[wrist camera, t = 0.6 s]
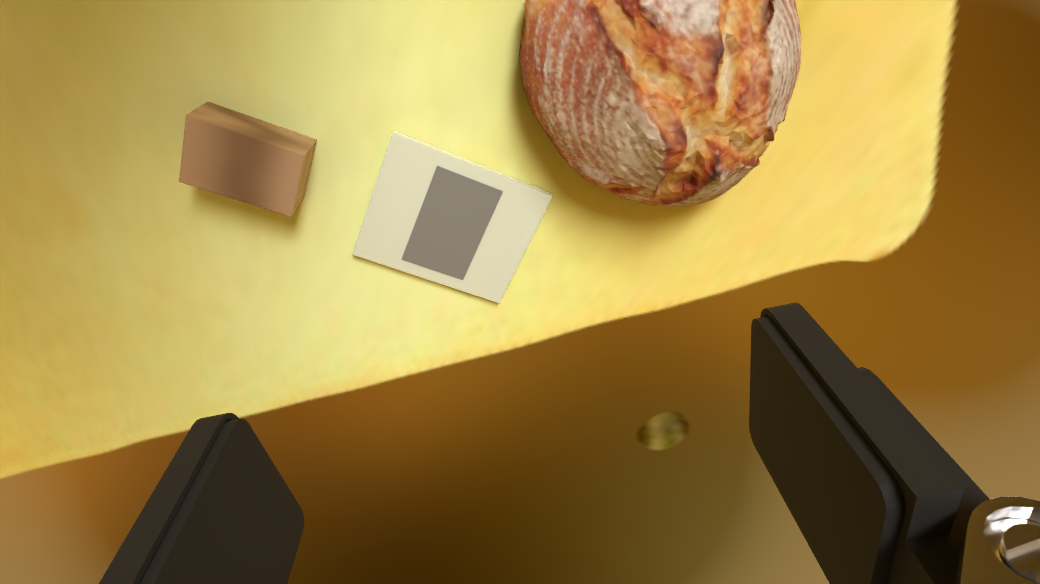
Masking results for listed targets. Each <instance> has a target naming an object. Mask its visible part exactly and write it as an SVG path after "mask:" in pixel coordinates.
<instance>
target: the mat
mask: <svg viewBox="0 0 1040 584" xmlns="http://www.w3.org/2000/svg"><path fill="white" fill-rule="evenodd" d="M552 197H553V196H552V193H550V192H547V191H545V190H542V189H540V188H537V187H535V186H532V185H530V184H527V183H525V182H522V181H520V180H517V179H515V178H512V177H510V176H507V175H505V174H502V173H500V172H497V171H494V170H492V169H489V168H487V167H484V166H482V165H479V164H477V163H474V162H472V161H469V160H467V159H464V158H462V157H459V156H457V155H454V154H452V153H449V152H447V151H444V150H442V149H439V148H437V147H434V146H432V145H429V144H427V143H424V142H422V141H419V140H417V139H414V138H412V137H409V136H407V135H404V134H402V133H399V132H397V131H393V133H392V136H391V139H390V142H389V145H388V148H387V151H386V154H385V157H384V161H383V164H382V167H381V170H380V173H379V176H378V179H377V182H376V185H375V188H374V191H373V194H372V197H371V200H370V203H369V206H368V209H367V212H366V215H365V218H364V221H363V224H362V227H361V230H360V233H359V236H358V239H357V242H356V245H355V248H354V251H353V254H352V255H355V256H358V257H361V258H364V259H367V260H370V261H373V262H376V263H379V264H382V265H385V266H388V267H391V268H394V269H397V270H400V271H403V272H406V273H409V274H412V275H415V276H418V277H421V278H424V279H427V280H430V281H434V282H437V283H440V284H443V285H446V286H449V287H452V288H455V289H458V290H461V291H464V292H467V293H470V294H473V295H476V296H479V297H482V298H485V299H488V300H491V301H494V302H497V303H500V301H501V299H502V297H503V295H504V293H505V291H506V289H507V287H508V285H509V283H510V281H511V279H512V277H513V275H514V273H515V271H516V269H517V267H518V265H519V263H520V261H521V259H522V257H523V255H524V253H525V251H526V249H527V247H528V245H529V243H530V241H531V239H532V237H533V235H534V233H535V231H536V229H537V227H538V225H539V223H540V221H541V219H542V217H543V215H544V213H545V211H546V209H547V207H548V205H549V203H550V201H551V199H552Z"/></svg>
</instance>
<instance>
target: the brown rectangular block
mask: <svg viewBox="0 0 1040 584" xmlns="http://www.w3.org/2000/svg"><path fill="white" fill-rule="evenodd" d="M316 141H317V140H316V139H313V138H310V137H308V136H305V135H302V134H299V133H296V132H293V131H290V130H287V129H285V128H282V127H279V126H276V125H273V124H270V123H267V122H264V121H262V120H259V119H256V118H253V117H250V116H247V115H244V114H241V113H239V112H236V111H233V110H230V109H227V108H224V107H221V106H218V105H216V104H213V103H210V102H206V103H205V104H203V105H202V106H200V107H199V108H197V109H195V110H194V111H192V112H191V113H189V114H188V115H186V122H185V131H184V140H183V150H182V159H181V168H180V178H179V182H181V183H184V184H188V185H191V186H194V187H197V188H201V189H204V190H207V191H210V192H213V193H217V194H220V195H223V196H226V197H229V198H233V199H236V200H239V201H242V202H246V203H249V204H252V205H255V206H258V207H262V208H265V209H268V210H271V211H274V212H278V213H281V214H284V215H287V216H291V217H292V215H293V214H294V212H295V210H296V209H297V207H298V206H299V204H300V203H301V201H302V199H303V198H304V194H305V190H306V185H307V181H308V176H309V172H310V168H311V163H312V159H313V154H314V150H315V145H316Z"/></svg>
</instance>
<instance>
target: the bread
mask: <svg viewBox="0 0 1040 584" xmlns="http://www.w3.org/2000/svg"><path fill="white" fill-rule="evenodd" d="M524 6H525V13H526V19H525V26H524V29H523V31H522V42H521V46H520V66H521V74H522V81H523V87H524V91H525V93H526V96H527V99H528V102H529V105H530V107H531V108H532V111H533V114H534V115H535V116H536V118H537V120H538V122H539V124H540V125H541V126H542V128H543V129H544V131H545V132H546V134H547V135H548V136H549V138H550V139H551V141H552V142H553V144H554V145H555V147H556V148H557V150H558V151H559V153H560V154H561V156H562V157H563V158H564V159H565V160H566V161H567V162H568V164H569V165H570V167H571V168H573V169H574V170H576V171H577V172H578V173H579V174H580V175H581V176H582V177H583V178H585V179H586V180H587V181H589V182H592V183H593V184H595V185H597V186H599V187H601V188H603V189H605V190H607V191H609V192H611V193H614V194H616V195H618V196H620V197H622V198H625V199H629V200H633V201H637V202H641V203H645V204H649V205H654V206H689V205H696V204H700V203H703V202H706V201H709V200H712V199H715V198H717V197H718V196H720V195H722V194H724V193H725V192H726V191H728V190H729V189H731V188H732V187H733V186H735V185H736V184H738V183H739V182H740V181H741V180H742V179H743V178H744V177H745V176H746V175H747V174H748V173H749V172H750V171H751V170H752V169H753V168H755V167H756V166H758V165H759V164H760V162H759V157H760V156H762V155H763V153H764V151H765V150H766V149H767V147H768V146H769V143H770V141H773V140H774V134H775V133H776V131H777V126H778V124H780V123H781V122H782V121H784V120H785V116H786V110H787V107H788V104H789V101H790V99H791V96H792V93H793V90H794V87H795V84H796V81H797V78H798V74H799V69H800V63H801V31H800V24H799V18H798V14H797V9H796V3H795V0H526V1H525V4H524Z"/></svg>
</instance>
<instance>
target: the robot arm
mask: <svg viewBox="0 0 1040 584" xmlns="http://www.w3.org/2000/svg"><path fill="white" fill-rule="evenodd" d="M750 374H751V375H750V413H749V429H750V434H751V438H752V441H753V443H754V446H755V448H756V450H757V451H758V453H759V455H760V457H761V459H762V461H763V462H764V464H765V466H766V468H767V470H768V472H769V474H770V475H771V477H772V479H773V481H774V483H775V484H776V486H777V488H778V490H779V492H780V494H781V495H782V497H783V499H784V501H785V502H786V505H787V506H788V508H789V510H790V512H791V514H792V515H793V517H794V519H795V521H796V522H797V525H798V526H799V528H800V530H801V532H802V534H803V535H804V537H805V539H806V541H807V543H808V545H809V547H810V548H811V550H812V552H813V554H814V556H815V557H816V559H817V561H818V563H819V565H820V567H821V568H822V570H823V572H824V574H825V576H826V578H827V579H828V581H829V583H830V584H1040V501H1038V500H1034V499H1029V498H1024V497H998V498H994V499H989V498H988V497H987V496H986V495H985V494H984V493H983V492H982V490H981V489H980V488H979V487H978V486H977V485H976V484H975V483H974V482H973V481H972V480H971V478H970V477H969V476H968V475H967V474H966V473H965V472H964V471H963V470H962V469H961V467H960V466H959V465H958V464H957V463H956V462H955V461H954V460H953V459H952V458H951V457H950V455H949V454H948V453H947V452H946V451H945V450H944V449H943V448H942V447H941V446H940V445H939V443H938V442H937V441H936V440H935V439H934V438H933V437H932V436H931V435H930V434H929V433H928V432H927V430H926V429H925V428H924V427H923V426H922V425H921V424H920V423H919V422H918V421H917V419H916V418H915V417H914V416H913V415H912V414H911V413H910V412H909V411H908V410H907V409H906V407H905V406H904V405H903V404H902V403H901V402H900V401H899V400H898V399H897V398H896V397H895V396H894V394H893V393H892V392H891V391H890V390H889V389H888V388H887V387H886V386H885V385H884V383H883V382H882V381H881V380H880V379H879V378H878V377H877V376H876V375H875V374H874V373H872V372H871V371H870V370H868V369H866V368H863V367H862V368H857V367H856V366H855V365H854V364H853V363H852V362H851V361H850V360H849V358H848V357H847V356H846V355H845V354H844V353H843V352H842V351H841V350H840V348H839V347H838V346H837V345H836V344H835V343H834V342H833V341H832V339H831V338H830V337H829V336H828V335H827V334H826V333H825V331H824V330H823V329H822V328H821V327H820V326H819V325H818V324H817V322H816V321H815V320H814V319H813V318H812V317H811V316H810V315H809V314H808V312H807V311H806V310H805V309H804V308H803V307H802V306H801V305H800V304H799V303H791V304H786V305H781V306H775V307H770V308H766V309H763V310H762V312H761V317H760V318H757V319H754V320H753V321H752V327H751V370H750ZM303 528H304V515H303V511H302V509H301V507H300V506H299V504H298V503H297V501H296V499H295V498H294V496H293V494H292V493H291V491H290V490H289V488H288V486H287V485H286V483H285V481H284V480H283V478H282V477H281V475H280V473H279V472H278V470H277V469H276V467H275V465H274V464H273V462H272V461H271V459H270V457H269V456H268V454H267V452H266V451H265V449H264V447H263V446H262V444H261V443H260V441H259V439H258V438H257V436H256V435H255V433H254V431H253V430H252V428H251V426H250V425H249V423H248V422H247V421H246V420H244V419H239V418H238V417H237V416H236V415H235V414H233V413H226V414H221V415H216V416H211V417H206V418H201V419H199V420H197V421H196V422H195V423H194V424H193V425H192V427H191V429H190V430H189V432H188V434H187V436H186V437H185V439H184V441H183V442H182V444H181V446H180V447H179V449H178V451H177V453H176V454H175V456H174V458H173V459H172V461H171V463H170V464H169V466H168V468H167V469H166V471H165V473H164V474H163V476H162V478H161V480H160V481H159V483H158V485H157V486H156V488H155V490H154V491H153V493H152V495H151V496H150V498H149V500H148V502H147V503H146V505H145V507H144V508H143V510H142V512H141V513H140V515H139V517H138V518H137V520H136V522H135V524H134V525H133V527H132V529H131V530H130V532H129V534H128V535H127V537H126V539H125V541H124V542H123V544H122V546H121V548H120V549H119V551H118V552H117V554H116V556H115V557H114V559H113V561H112V563H111V564H110V566H109V568H108V569H107V571H106V573H105V574H104V576H103V578H102V579H101V581H100V583H99V584H287V582H288V579H289V575H290V572H291V569H292V565H293V562H294V559H295V555H296V552H297V549H298V545H299V542H300V538H301V535H302V532H303Z"/></svg>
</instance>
